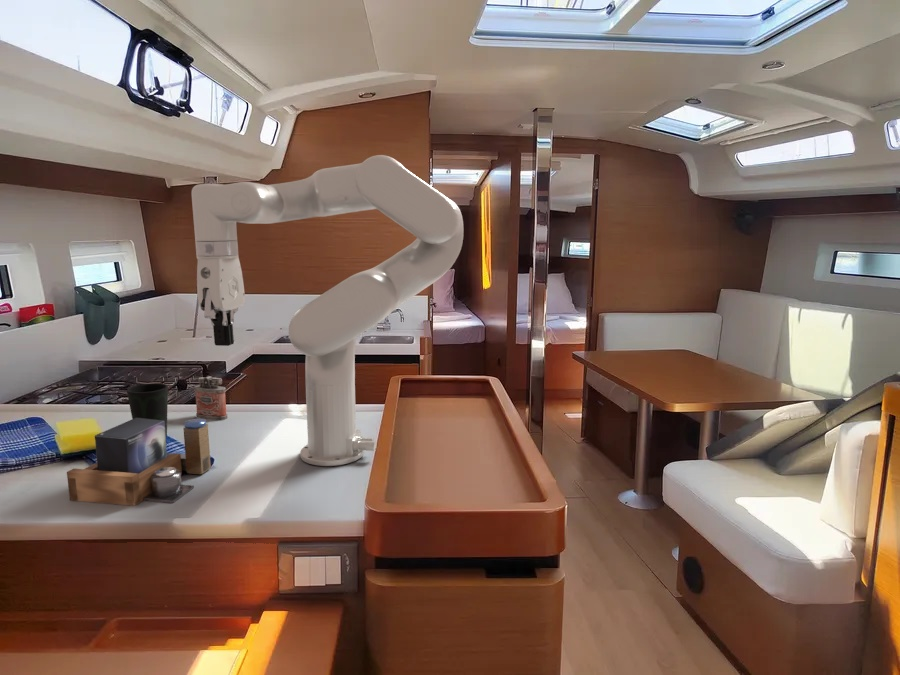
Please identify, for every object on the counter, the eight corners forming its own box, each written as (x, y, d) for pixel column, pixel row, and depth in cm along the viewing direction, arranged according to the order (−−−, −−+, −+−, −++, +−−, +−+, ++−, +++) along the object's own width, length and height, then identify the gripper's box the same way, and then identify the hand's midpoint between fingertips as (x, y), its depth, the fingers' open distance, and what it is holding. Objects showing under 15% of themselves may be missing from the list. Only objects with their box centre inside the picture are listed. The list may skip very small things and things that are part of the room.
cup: (142, 452, 122) (137, 394, 120) (125, 443, 126) (119, 388, 124) (179, 441, 128) (174, 387, 126) (160, 434, 132) (156, 381, 130)
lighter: (193, 418, 144) (190, 377, 142) (202, 413, 147) (199, 374, 145) (221, 421, 141) (218, 380, 140) (230, 417, 145) (228, 376, 143)
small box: (131, 497, 102) (125, 438, 100) (97, 494, 103) (91, 435, 101) (170, 472, 112) (166, 418, 110) (139, 470, 113) (134, 416, 111)
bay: (182, 474, 111) (180, 448, 110) (134, 505, 98) (132, 477, 97) (123, 469, 113) (121, 444, 112) (69, 500, 100) (66, 471, 99)
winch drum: (193, 487, 105) (192, 465, 105) (172, 503, 99) (170, 479, 99) (162, 485, 106) (160, 462, 105) (140, 500, 100) (137, 476, 100)
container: (213, 467, 113) (209, 419, 112) (202, 475, 110) (198, 425, 108) (144, 462, 116) (140, 415, 114) (131, 469, 112) (127, 420, 111)
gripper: (215, 252, 107) (223, 353, 110) (253, 249, 122) (259, 338, 125) (176, 252, 108) (185, 352, 111) (219, 249, 123) (225, 337, 126)
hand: (224, 344), depth 118 cm, fingers closed
